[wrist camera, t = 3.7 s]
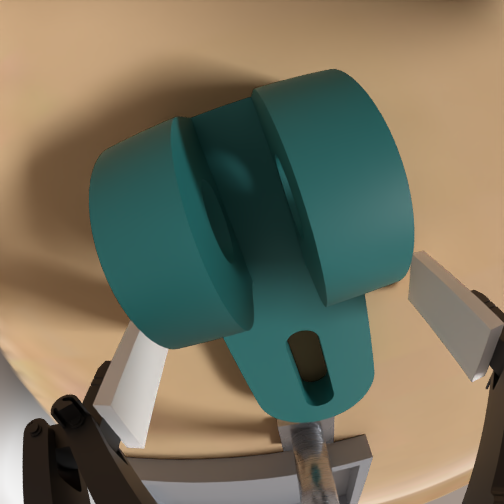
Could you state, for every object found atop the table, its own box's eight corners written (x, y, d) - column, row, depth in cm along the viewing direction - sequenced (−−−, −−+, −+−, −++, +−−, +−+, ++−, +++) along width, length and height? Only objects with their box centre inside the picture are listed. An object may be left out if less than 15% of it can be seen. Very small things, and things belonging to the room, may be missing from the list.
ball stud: (276, 418, 20) (294, 585, 8) (331, 407, 19) (371, 569, 8) (282, 443, 21) (299, 585, 9) (331, 434, 21) (363, 573, 9)
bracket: (152, 138, 12) (52, 163, 5) (299, 86, 12) (372, 45, 4) (272, 406, 19) (282, 507, 12) (366, 378, 19) (404, 473, 11)
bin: (108, 455, 22) (102, 475, 20) (365, 434, 21) (372, 457, 19) (168, 508, 29) (166, 523, 27) (352, 492, 28) (356, 507, 26)
